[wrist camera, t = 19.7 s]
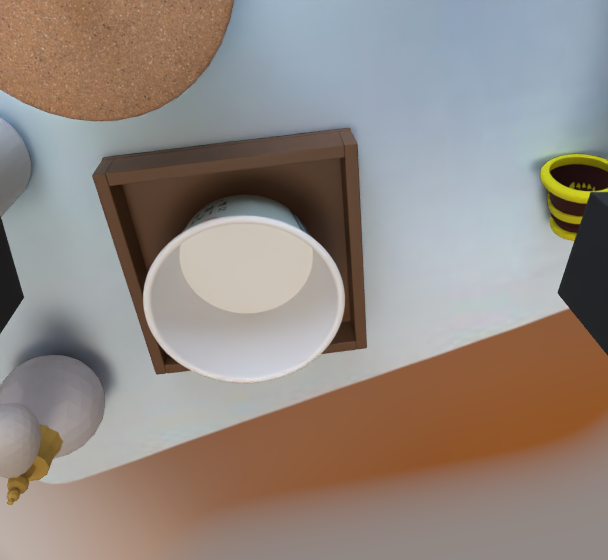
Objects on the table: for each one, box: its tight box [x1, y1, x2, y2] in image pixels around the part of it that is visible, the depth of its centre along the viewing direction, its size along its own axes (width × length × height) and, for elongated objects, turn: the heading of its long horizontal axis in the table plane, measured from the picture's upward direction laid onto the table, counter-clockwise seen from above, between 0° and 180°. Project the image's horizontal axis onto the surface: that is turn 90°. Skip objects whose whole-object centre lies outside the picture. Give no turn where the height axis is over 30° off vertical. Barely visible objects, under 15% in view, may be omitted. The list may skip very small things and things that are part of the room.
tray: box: [92, 128, 367, 374], centre depth 38 cm, size 16×16×3 cm
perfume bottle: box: [0, 355, 105, 505], centre depth 38 cm, size 8×10×12 cm
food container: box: [143, 195, 345, 383], centre depth 36 cm, size 12×12×6 cm
